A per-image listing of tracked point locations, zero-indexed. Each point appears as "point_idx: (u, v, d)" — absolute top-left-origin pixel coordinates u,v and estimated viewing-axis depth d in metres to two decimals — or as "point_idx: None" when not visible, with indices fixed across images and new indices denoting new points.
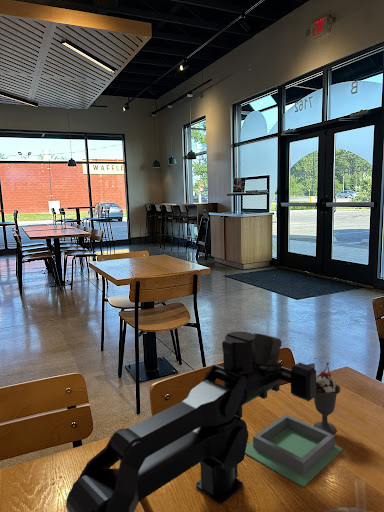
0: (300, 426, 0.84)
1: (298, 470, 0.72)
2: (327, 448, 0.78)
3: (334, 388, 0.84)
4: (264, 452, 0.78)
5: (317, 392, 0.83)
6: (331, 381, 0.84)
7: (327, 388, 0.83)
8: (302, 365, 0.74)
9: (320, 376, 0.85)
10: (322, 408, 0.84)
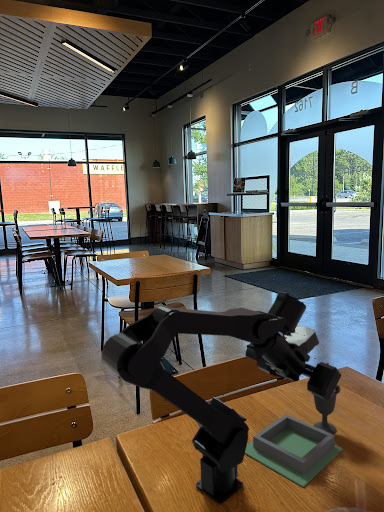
0: (300, 426, 0.84)
1: (298, 470, 0.72)
2: (327, 448, 0.78)
3: None
4: (264, 452, 0.78)
5: None
6: None
7: None
8: None
9: None
10: (322, 408, 0.84)
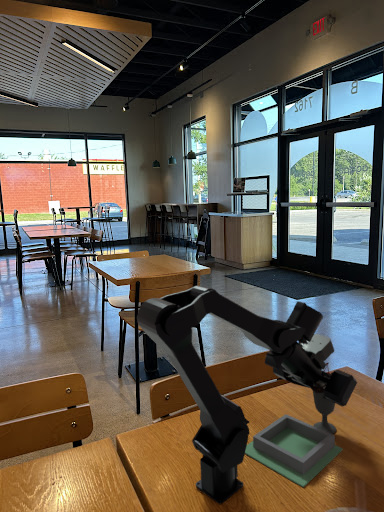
0: (300, 426, 0.84)
1: (298, 470, 0.72)
2: (327, 448, 0.78)
3: None
4: (264, 452, 0.78)
5: (317, 392, 0.83)
6: None
7: None
8: None
9: None
10: (322, 408, 0.84)
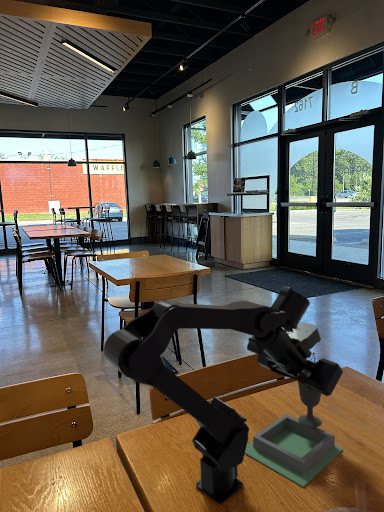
0: (300, 426, 0.84)
1: (298, 470, 0.72)
2: (327, 448, 0.78)
3: None
4: (264, 452, 0.78)
5: (302, 382, 0.80)
6: None
7: None
8: None
9: None
10: (307, 399, 0.81)
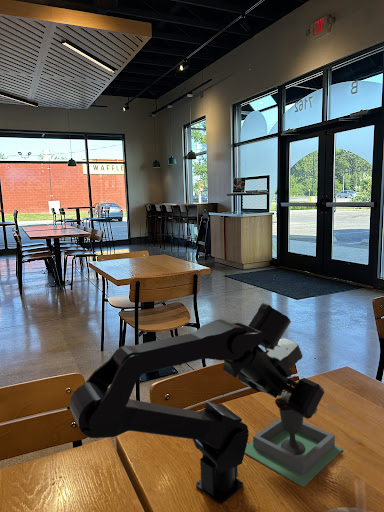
0: None
1: (298, 470, 0.72)
2: (327, 448, 0.78)
3: None
4: (264, 452, 0.78)
5: (282, 409, 0.76)
6: None
7: None
8: None
9: (286, 391, 0.78)
10: (288, 426, 0.77)
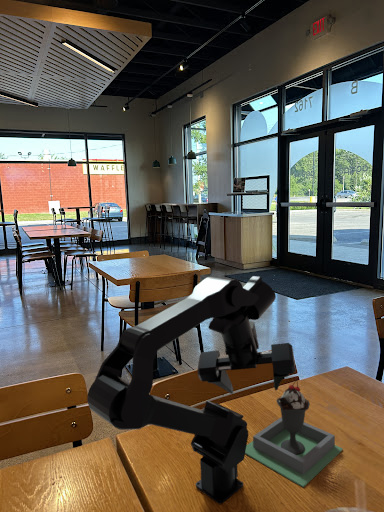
0: None
1: (298, 470, 0.72)
2: (327, 448, 0.78)
3: (303, 404, 0.77)
4: (264, 452, 0.78)
5: (284, 408, 0.76)
6: (300, 396, 0.78)
7: (295, 404, 0.76)
8: None
9: (288, 391, 0.78)
10: (289, 426, 0.77)
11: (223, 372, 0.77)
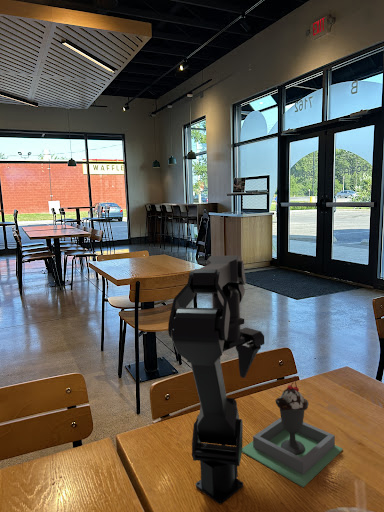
0: None
1: (298, 470, 0.72)
2: (327, 448, 0.78)
3: (301, 404, 0.77)
4: (264, 452, 0.78)
5: (283, 409, 0.76)
6: (299, 396, 0.78)
7: (294, 404, 0.76)
8: None
9: (287, 391, 0.78)
10: (289, 426, 0.77)
11: None
